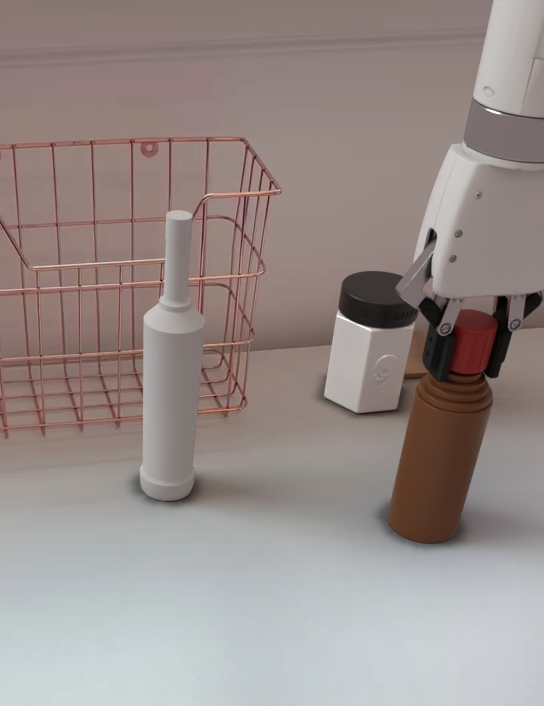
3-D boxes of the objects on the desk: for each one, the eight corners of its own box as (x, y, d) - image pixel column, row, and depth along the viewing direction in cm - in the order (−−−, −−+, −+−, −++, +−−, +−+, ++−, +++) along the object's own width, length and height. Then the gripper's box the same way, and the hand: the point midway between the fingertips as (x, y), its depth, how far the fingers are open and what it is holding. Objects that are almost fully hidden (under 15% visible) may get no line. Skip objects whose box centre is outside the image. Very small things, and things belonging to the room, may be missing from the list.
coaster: (447, 333, 123) (448, 328, 123) (483, 373, 116) (484, 368, 116) (369, 337, 121) (370, 333, 121) (400, 379, 114) (401, 374, 114)
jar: (337, 417, 107) (356, 307, 99) (310, 379, 113) (326, 272, 105) (416, 409, 109) (440, 301, 101) (385, 373, 115) (406, 267, 107)
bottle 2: (440, 499, 97) (491, 306, 84) (468, 540, 92) (526, 342, 80) (377, 505, 96) (418, 310, 83) (402, 546, 91) (450, 347, 78)
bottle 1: (142, 468, 98) (150, 200, 81) (196, 474, 98) (215, 206, 81) (135, 499, 94) (141, 224, 78) (191, 505, 94) (210, 230, 77)
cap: (435, 368, 82) (445, 325, 80) (441, 347, 85) (451, 305, 83) (484, 377, 82) (496, 334, 79) (488, 356, 84) (500, 314, 82)
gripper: (599, 113, 76) (530, 345, 88) (388, 117, 73) (348, 357, 85) (655, 146, 71) (574, 388, 83) (431, 152, 67) (381, 402, 80)
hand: (460, 370), depth 84 cm, fingers closed on cap, 3 cm apart
